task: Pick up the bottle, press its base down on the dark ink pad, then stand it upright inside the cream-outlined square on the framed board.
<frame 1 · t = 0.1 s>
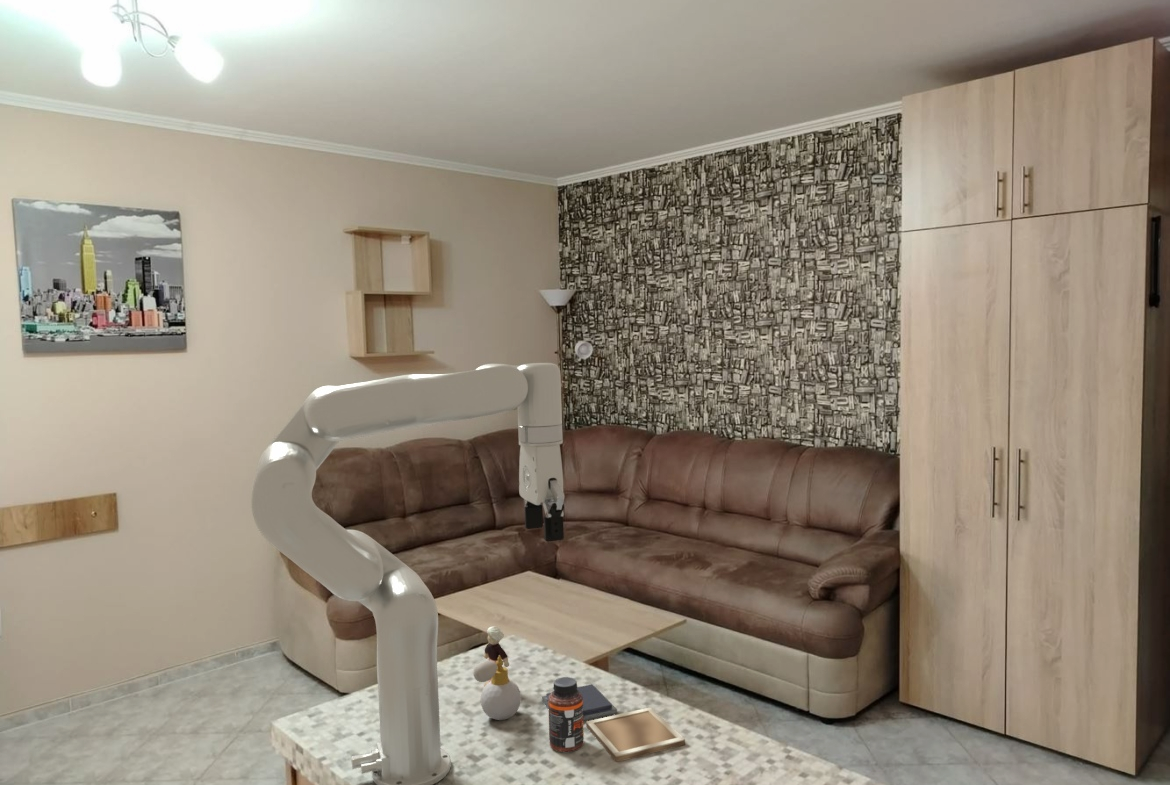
hand: (543, 534, 135), 37 cm above the table, tool pointing down, fingers open, 9 cm apart
perfume bottle: (499, 720, 145), on the table
framed board: (634, 735, 138), on the table
ink pad: (578, 707, 149), on the table
grandmother figurine: (496, 689, 158), on the table
supplement bottle: (566, 746, 135), on the table
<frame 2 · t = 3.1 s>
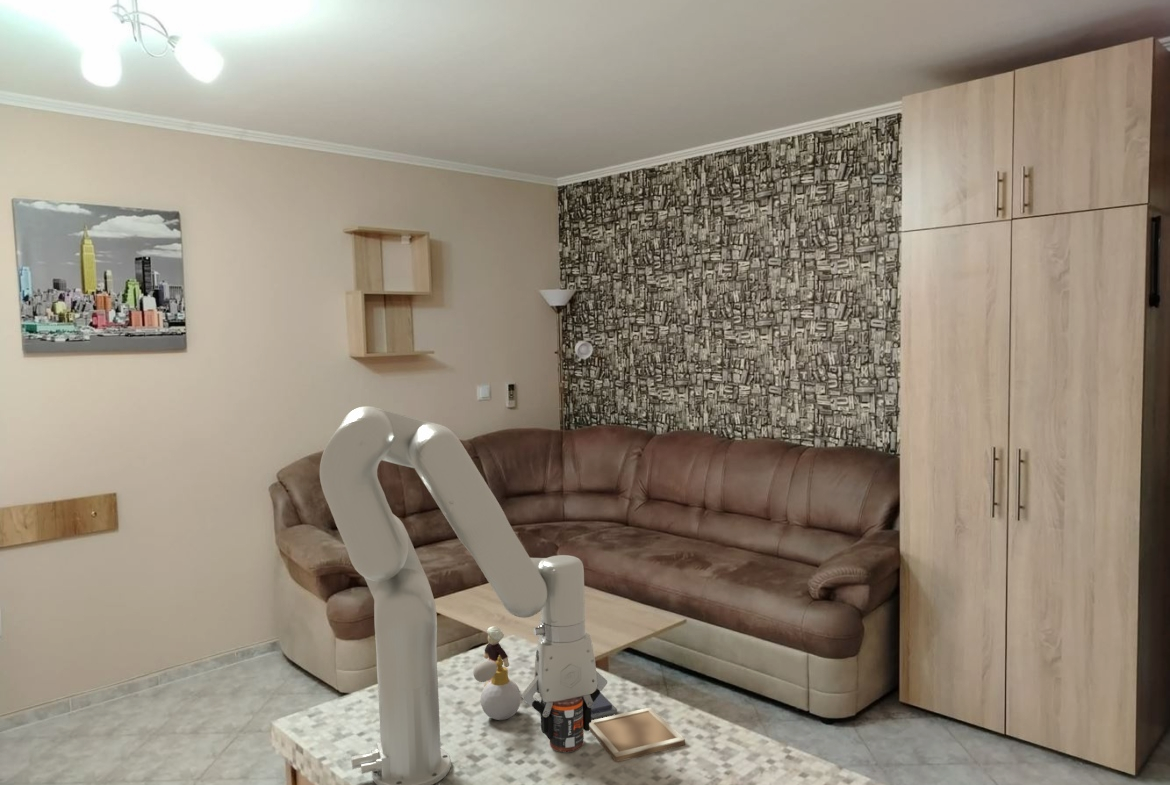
hand: (566, 730, 135), 3 cm above the table, tool pointing down, fingers closed on supplement bottle, 6 cm apart
supplement bottle: (566, 746, 135), on the table, touching gripper
everything else where it was.
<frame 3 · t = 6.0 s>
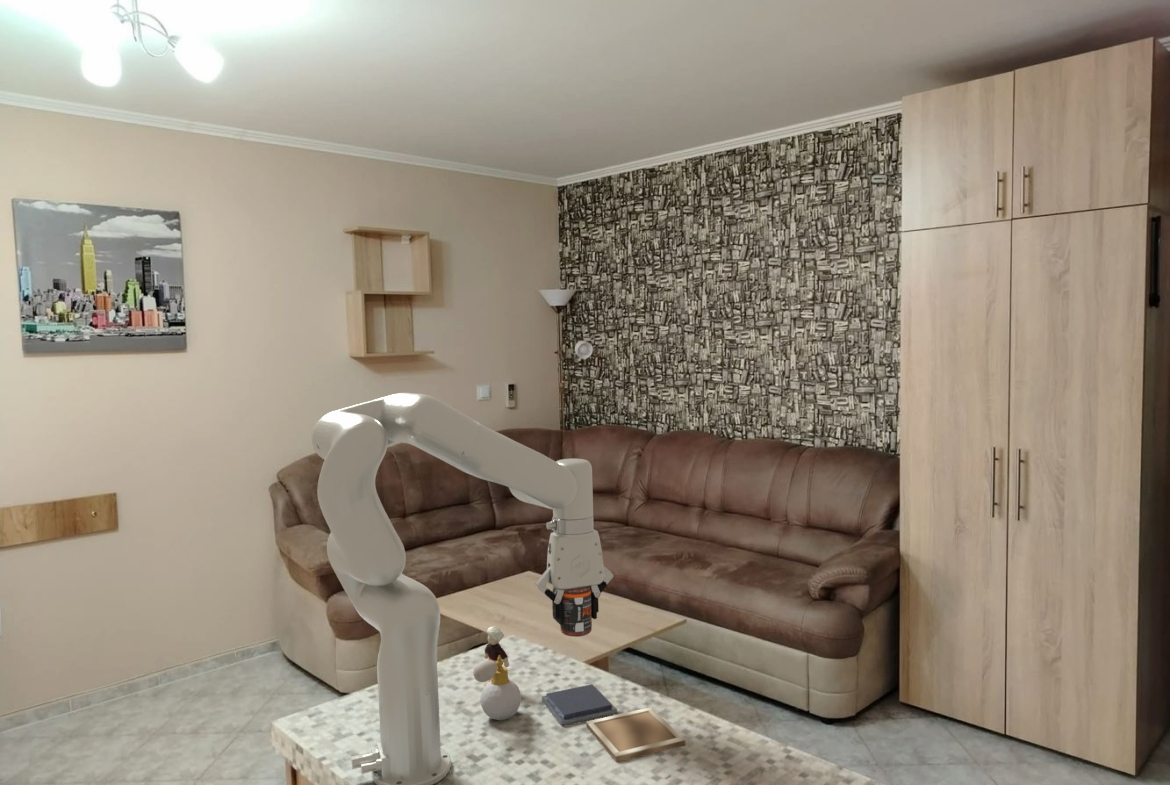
hand: (575, 618, 148), 17 cm above the table, tool pointing down, fingers closed on supplement bottle, 6 cm apart
supplement bottle: (576, 633, 148), point 15 cm above the table, touching gripper
everything else where it was.
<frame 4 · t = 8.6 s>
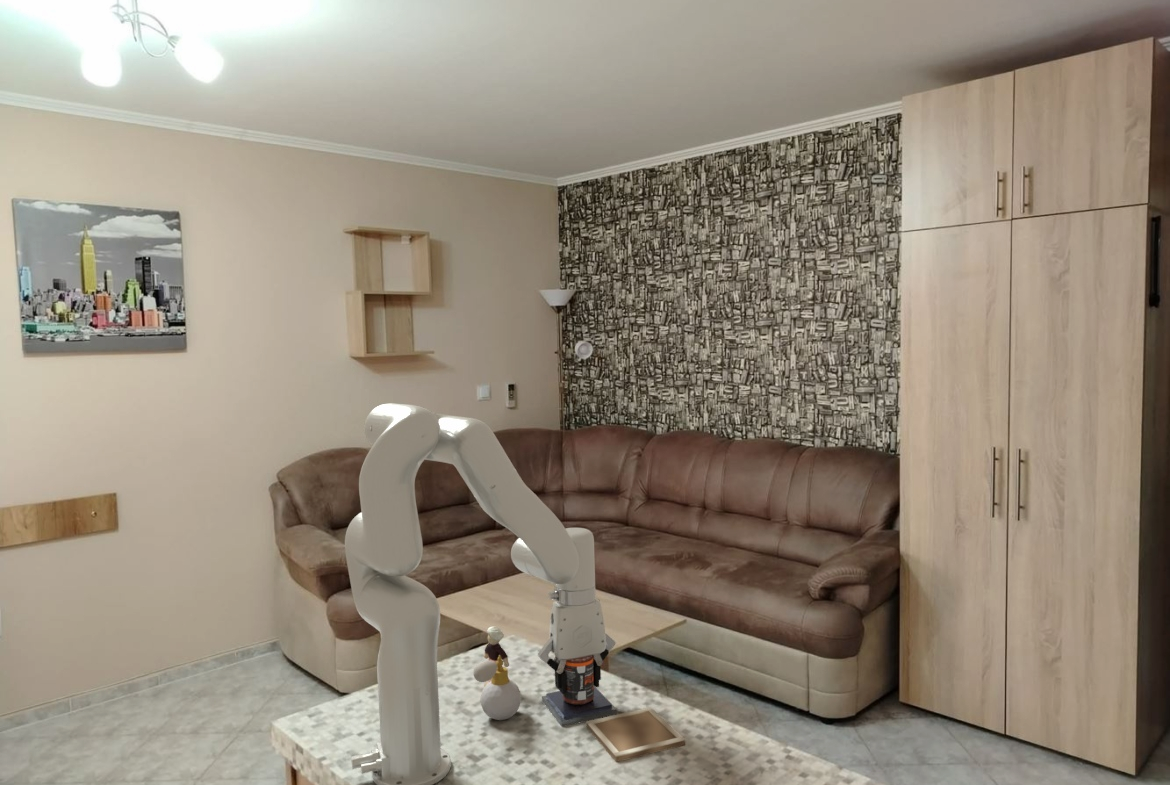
hand: (578, 686, 149), 4 cm above the table, tool pointing down, fingers closed on supplement bottle, 6 cm apart
supplement bottle: (578, 700, 149), point 1 cm above the table, touching gripper, ink pad
everything else where it was.
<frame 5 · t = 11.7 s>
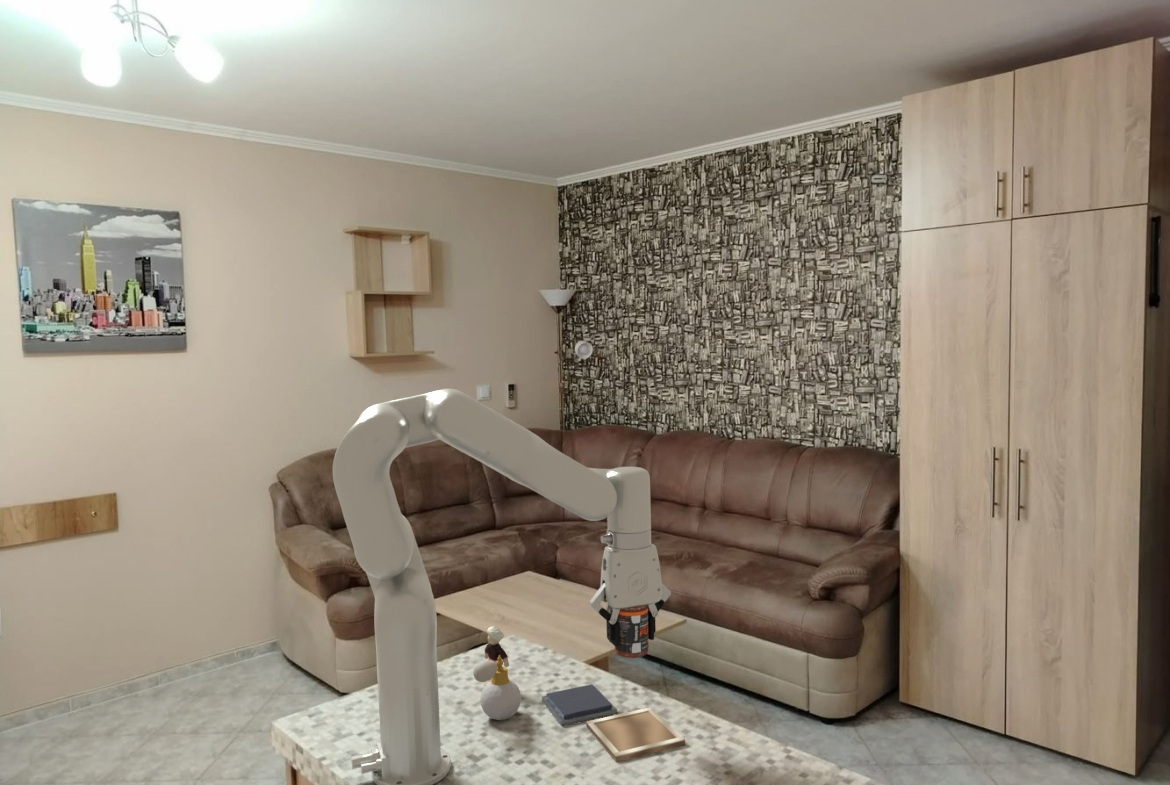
hand: (631, 639, 137), 17 cm above the table, tool pointing down, fingers closed on supplement bottle, 6 cm apart
supplement bottle: (631, 653, 137), point 15 cm above the table, touching gripper
everything else where it was.
when the fingers open (5 cm above the table, at t = 14.4 s): supplement bottle drops 2 cm, resting on framed board.
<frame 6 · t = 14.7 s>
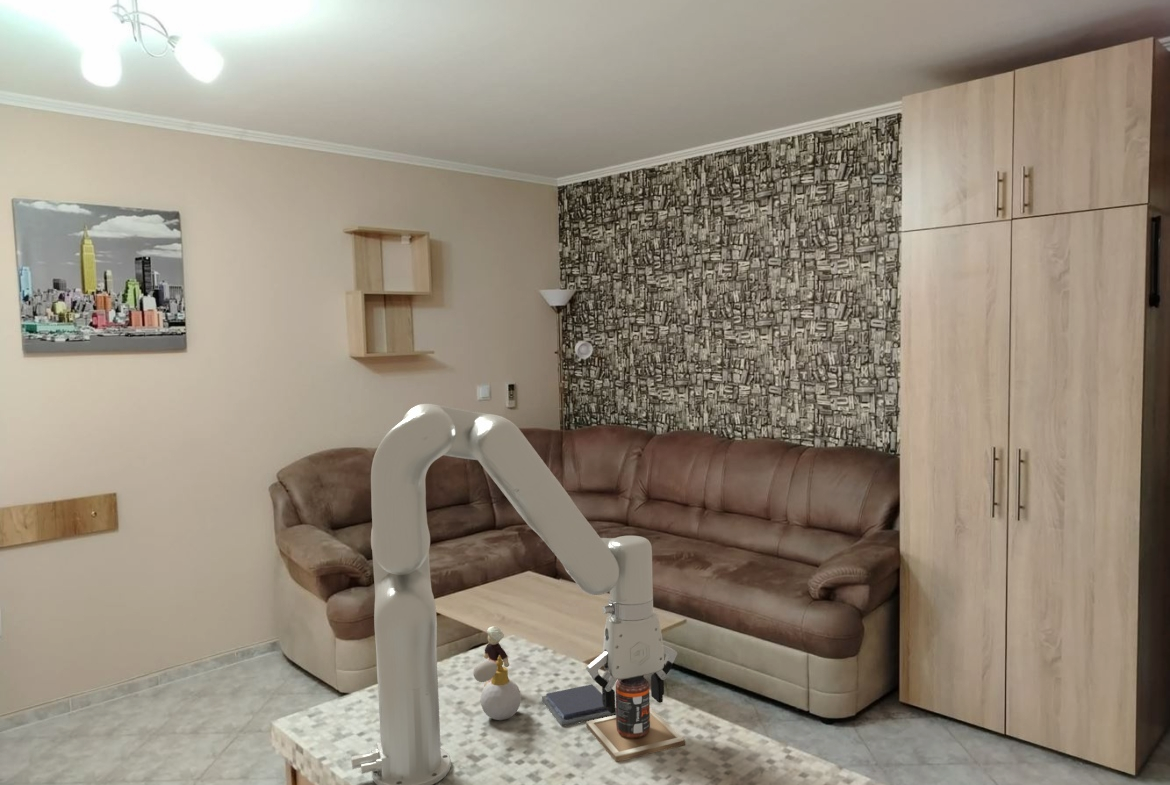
hand: (633, 704, 138), 6 cm above the table, tool pointing down, fingers open, 8 cm apart
supplement bottle: (633, 732, 138), point 1 cm above the table, touching framed board
everything else where it was.
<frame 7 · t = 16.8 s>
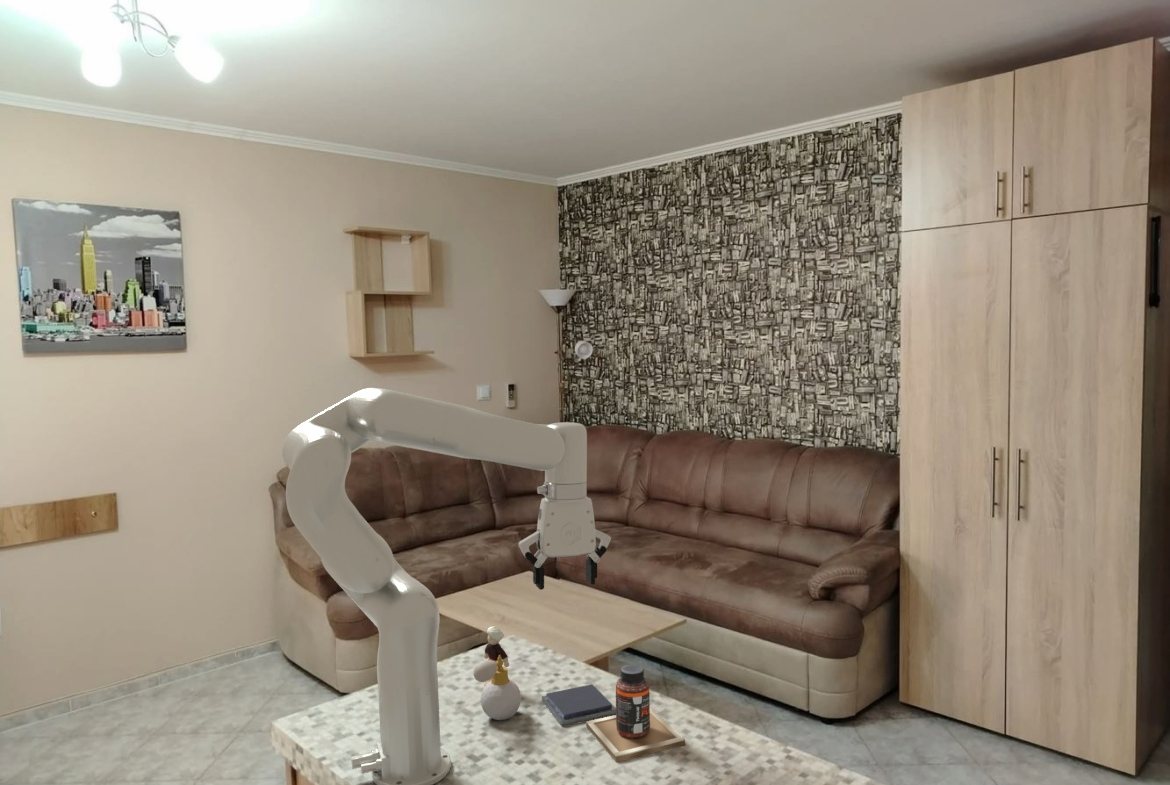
hand: (565, 585, 142), 26 cm above the table, tool pointing down, fingers open, 9 cm apart
nothing on the table moved.
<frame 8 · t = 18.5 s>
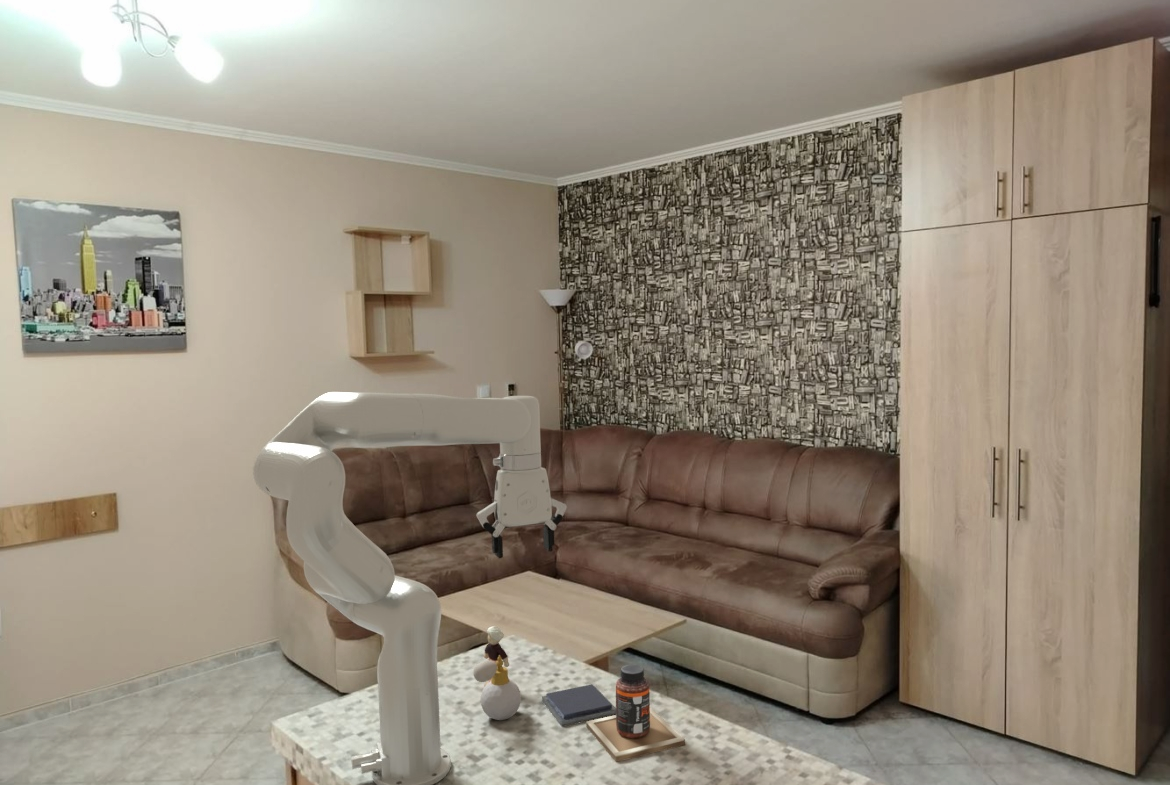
hand: (523, 553, 146), 30 cm above the table, tool pointing down, fingers open, 9 cm apart
nothing on the table moved.
at the end: supplement bottle 0.2 cm off-centre on the framed board, point 0.6 cm above the framed board's base; supplement bottle tilted 0°; the gripper is holding nothing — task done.
